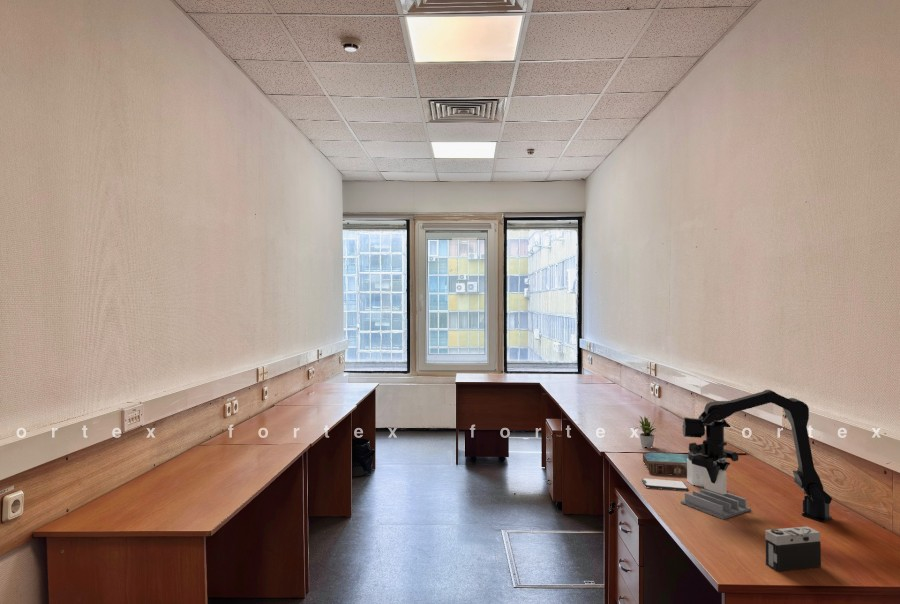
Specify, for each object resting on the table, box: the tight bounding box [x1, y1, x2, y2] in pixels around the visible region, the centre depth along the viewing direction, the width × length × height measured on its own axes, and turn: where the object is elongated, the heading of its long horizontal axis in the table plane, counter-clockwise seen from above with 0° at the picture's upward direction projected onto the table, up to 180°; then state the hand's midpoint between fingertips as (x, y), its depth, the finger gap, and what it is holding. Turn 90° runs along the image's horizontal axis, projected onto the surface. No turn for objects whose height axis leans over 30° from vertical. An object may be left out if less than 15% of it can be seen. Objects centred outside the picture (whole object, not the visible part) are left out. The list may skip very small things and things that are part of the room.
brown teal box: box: [641, 451, 688, 477], centre depth 221 cm, size 23×18×5 cm
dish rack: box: [680, 488, 752, 520], centre depth 179 cm, size 16×16×4 cm
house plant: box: [631, 415, 659, 449], centre depth 257 cm, size 14×14×16 cm
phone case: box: [641, 477, 689, 491], centre depth 200 cm, size 9×2×16 cm
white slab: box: [703, 468, 727, 495], centre depth 179 cm, size 7×2×8 cm, turn 29°
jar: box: [686, 451, 707, 488], centre depth 203 cm, size 9×8×12 cm
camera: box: [765, 526, 822, 572], centre depth 140 cm, size 14×8×10 cm, turn 100°
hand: (715, 482), depth 179 cm, fingers closed on white slab, 2 cm apart
